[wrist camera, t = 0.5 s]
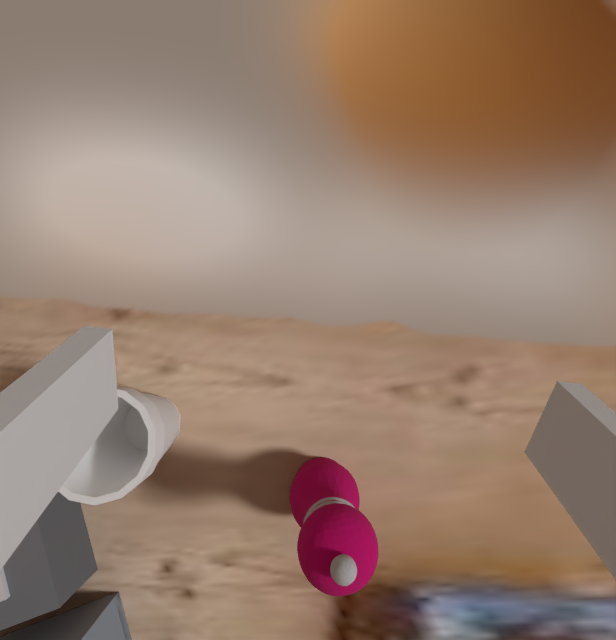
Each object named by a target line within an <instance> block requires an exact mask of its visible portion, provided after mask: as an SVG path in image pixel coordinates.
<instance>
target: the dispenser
mask: <svg viewBox="0 0 616 640" xmlns="http://www.w3.org/2000/svg"><path fill="white" fill-rule="evenodd" d="M96 570H97V566H96V562H95V558H94V554H93V550H92V547H91V543H90V539H89V535H88V532H87V528H86V524H85V520H84V517H83V513H82V509H81V505H80V502H75V501H70V500H68V499H67V498H66V497H64V496H63V495H62V494H61V493H60V492H57V494H56V495H55V496H54V498H53V499H52V500H51V502H50V503H49V504H48V506H47V507H46V509H45V510H44V511H43V513H42V514H41V515H40V517H39V518H38V520H37V521H36V522H35V524H34V525H33V526H32V528H31V529H30V530H29V532H28V533H27V535H26V536H25V537H24V539H23V540H22V541H21V543H20V544H19V546H18V547H17V548H16V550H15V551H14V552H13V554H12V555H11V556H10V558H9V559H8V561H7V562H6V563H5V565H4V566H3V567H2V569H1V570H0V631H1V630H3V629H6V628H9V627H11V626H14V625H16V624H19V623H22V622H24V621H27V620H30V619H32V618H35V617H38V616H40V615H43V614H45V613H48V612H51V611H53V610H56V609H59V608H60V607H61V606H62V605H63V604H64V603H65V602H66V601H67V600H68V599H69V598H70V597H71V596H72V595H73V594H74V593H75V592H76V591H77V590H78V589H79V588H80V587H81V586H82V585H83V584H84V583H85V582H86V580H87V579H88V578H89V577H90V576H91V575H92V574H93V573H94V572H95V571H96Z"/></svg>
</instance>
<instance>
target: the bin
mask: <svg viewBox="0 0 616 640" xmlns="http://www.w3.org/2000/svg"><path fill="white" fill-rule="evenodd" d="M0 640H131V636H130V633H129V629H128V625H127V622H126V618H125V614H124V610H123V607H122V603H121V599H120V596H119V592H117V593H114V594H111V595H109V596H106V597H104V598H101V599H98V600H96V601H93V602H91V603H88V604H85V605H83V606H80V607H77V608H75V609H72V610H70V611H67V612H64V613H62V614H59V615H56V616H54V617H51V618H49V619H46V620H43V621H41V622H38V623H36V624H33V625H30V626H28V627H25V628H22V629H20V630H17V631H15V632H12V633H9V634H7V635H4V636H2V637H0Z"/></svg>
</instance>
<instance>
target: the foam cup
mask: <svg viewBox="0 0 616 640" xmlns="http://www.w3.org/2000/svg"><path fill="white" fill-rule="evenodd" d="M117 396H118V410H117V411H116V413H115V414H114V416H113V417H112V418H111V420H110V421H109V422H108V424H107V425H106V426H105V428H104V429H103V431H102V432H101V433H100V435H99V436H98V437H97V439H96V440H95V442H94V443H93V444H92V446H91V447H90V448H89V450H88V451H87V452H86V454H85V455H84V457H83V458H82V459H81V461H80V462H79V463H78V465H77V466H76V468H75V469H74V470H73V472H72V473H71V474H70V476H69V477H68V478H67V480H66V481H65V483H64V484H63V485H62V487H61V488H60V489H59V491H58V492H60V493H61V494H62V495H63V496H64V497H66V498H67V499H68V500H70V501H75V502H80V503H86V504H91V505H98V504H102V503H106V502H109V501H113V500H117V499H120V498H122V497H124V496H125V495H126V494H128V493H129V492H130V491H132V490H133V489H134V488H135V487H137V486H138V485H139V484H140V483H141V482H143V481H144V480H145V479H146V478H147V477H149V476H150V475H151V474H152V473H153V471H154V469H155V467H156V465H157V463H158V462H159V460H160V459H161V458H162V456H163V455H164V454H165V453H166V451H167V450H168V449H169V447H170V446H171V445H172V443H173V442H174V440H175V439H176V437H177V434H178V432H179V430H180V420H181V416H180V414H179V412H178V409H177V407H176V405H175V404H173V403H172V402H171V401H170V400H168V399H167V398H166V397H161V396H156V395H151V394H146V393H141V392H139V391H137V390H136V389H131V388H126V387H121V386H117Z"/></svg>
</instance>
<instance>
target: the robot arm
mask: <svg viewBox="0 0 616 640" xmlns="http://www.w3.org/2000/svg"><path fill="white" fill-rule="evenodd" d="M117 410H118V396H117V383H116V371H115V358H114V346H113V333H112V329H107V328H98V327H90V326H84V327H82V328H81V329H80V330H79V331H77V332H76V333H75V334H74V335H72V336H71V337H70V338H69V339H67V340H66V341H65V342H64V343H62V344H61V345H60V346H58V347H57V348H56V349H55V350H53V351H52V352H51V353H50V354H48V355H47V356H46V357H45V358H43V359H42V360H41V361H39V362H38V363H37V364H36V365H34V366H33V367H32V368H31V369H29V370H28V371H27V372H26V373H24V374H23V375H22V376H21V377H19V378H18V379H17V380H15V381H14V382H13V383H12V384H10V385H9V386H8V387H7V388H5V389H4V390H3V391H2V392H0V570H1V569H2V567H3V566H4V565H5V563H6V562H7V561H8V559H9V558H10V556H11V555H12V554H13V552H14V551H15V550H16V548H17V547H18V546H19V544H20V543H21V541H22V540H23V539H24V537H25V536H26V535H27V533H28V532H29V530H30V529H31V528H32V526H33V525H34V524H35V522H36V521H37V520H38V518H39V517H40V515H41V514H42V513H43V511H44V510H45V509H46V507H47V506H48V504H49V503H50V502H51V500H52V499H53V498H54V496H55V495H56V494H57V492H58V491H59V489H60V488H61V487H62V485H63V484H64V483H65V481H66V480H67V478H68V477H69V476H70V474H71V473H72V472H73V470H74V469H75V468H76V466H77V465H78V463H79V462H80V461H81V459H82V458H83V457H84V455H85V454H86V452H87V451H88V450H89V448H90V447H91V446H92V444H93V443H94V442H95V440H96V439H97V437H98V436H99V435H100V433H101V432H102V431H103V429H104V428H105V426H106V425H107V424H108V422H109V421H110V420H111V418H112V417H113V416H114V414H115V413H116V411H117ZM525 453H526V455H527V456H528V457H529V459H530V460H531V462H532V463H533V464H534V466H535V467H536V469H537V470H538V471H539V473H540V474H541V476H542V477H543V478H544V480H545V481H546V483H547V484H548V485H549V487H550V488H551V490H552V491H553V492H554V494H555V495H556V497H557V498H558V499H559V501H560V502H561V504H562V505H563V506H564V508H565V509H566V511H567V512H568V513H569V515H570V516H571V518H572V519H573V520H574V522H575V523H576V525H577V526H578V528H579V529H580V530H581V532H582V533H583V535H584V536H585V537H586V539H587V540H588V542H589V543H590V544H591V546H592V547H593V549H594V550H595V551H596V553H597V554H598V556H599V557H600V558H601V560H602V561H603V563H604V564H605V565H606V567H607V568H608V570H609V571H610V572H611V574H612V575H613V577H614V578H615V579H616V413H615V412H614V411H612V410H611V409H610V408H609V407H608V406H607V405H605V404H604V403H603V402H602V401H601V400H600V399H598V398H597V397H596V396H595V395H594V394H593V393H591V392H590V391H589V390H588V389H587V388H586V387H585V386H583V385H582V384H577V383H569V382H560V381H557V383H556V385H555V387H554V389H553V392H552V394H551V396H550V398H549V400H548V402H547V405H546V407H545V409H544V411H543V413H542V415H541V418H540V420H539V422H538V424H537V426H536V428H535V431H534V433H533V435H532V437H531V439H530V442H529V444H528V446H527V448H526V450H525Z"/></svg>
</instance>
